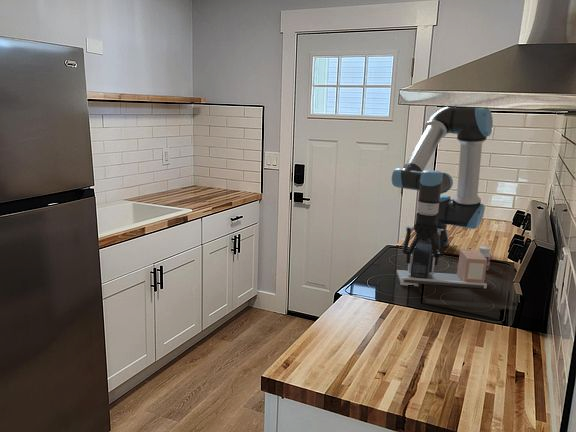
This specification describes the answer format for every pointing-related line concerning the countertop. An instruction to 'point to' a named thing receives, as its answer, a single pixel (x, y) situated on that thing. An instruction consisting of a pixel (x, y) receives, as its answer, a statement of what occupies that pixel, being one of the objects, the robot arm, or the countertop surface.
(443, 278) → the shelf
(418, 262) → the small box
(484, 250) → the pill bottle
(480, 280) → the faced carton
